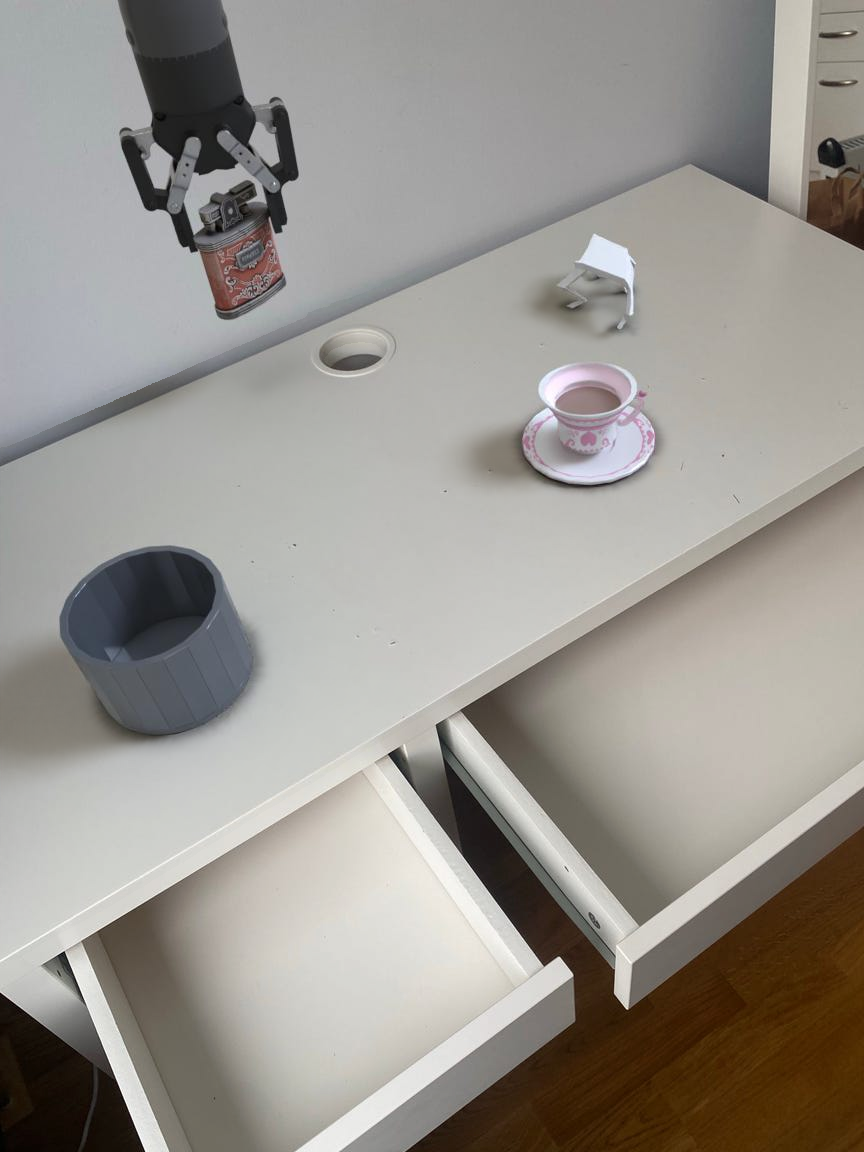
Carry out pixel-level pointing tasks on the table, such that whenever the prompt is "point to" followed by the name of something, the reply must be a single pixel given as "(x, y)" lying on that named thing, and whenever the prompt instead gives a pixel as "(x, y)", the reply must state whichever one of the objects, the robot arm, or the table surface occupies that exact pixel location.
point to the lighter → (238, 252)
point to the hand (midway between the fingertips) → (235, 238)
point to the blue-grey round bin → (158, 639)
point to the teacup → (589, 425)
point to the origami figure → (604, 270)
